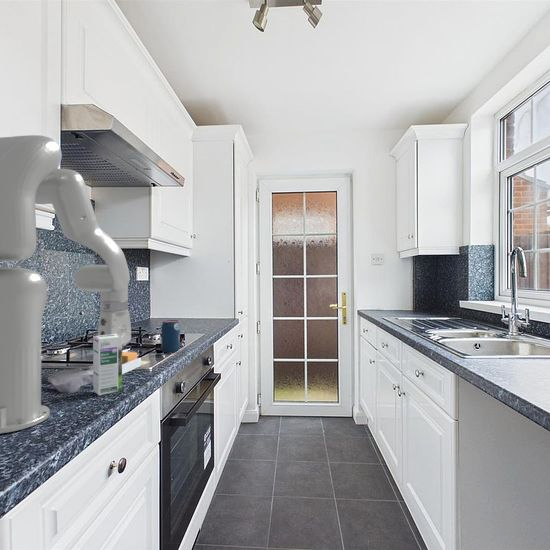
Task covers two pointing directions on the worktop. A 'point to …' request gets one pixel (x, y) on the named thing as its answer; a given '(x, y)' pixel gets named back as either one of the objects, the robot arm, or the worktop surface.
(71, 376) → the stone block
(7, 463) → the worktop surface
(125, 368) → the channel walls
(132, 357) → the orange block
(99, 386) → the syrup box
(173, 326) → the soda can
